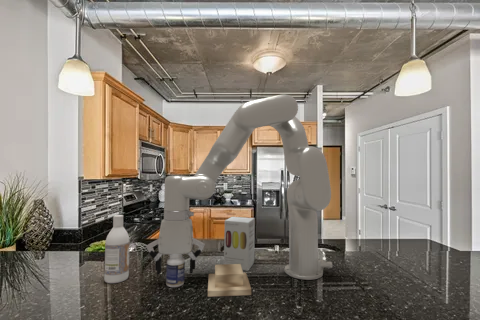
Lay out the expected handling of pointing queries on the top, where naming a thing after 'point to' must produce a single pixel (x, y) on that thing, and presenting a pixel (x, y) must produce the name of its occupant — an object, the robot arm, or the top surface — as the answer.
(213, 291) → the plinth
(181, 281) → the pill bottle
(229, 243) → the supplement box
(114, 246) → the bath foam
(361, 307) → the top surface
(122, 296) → the top surface
